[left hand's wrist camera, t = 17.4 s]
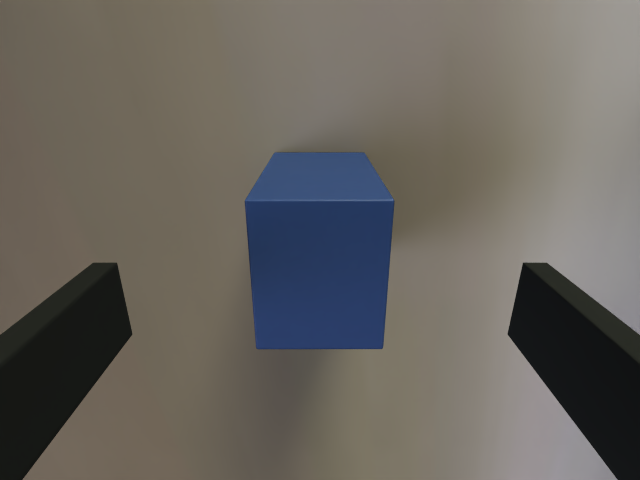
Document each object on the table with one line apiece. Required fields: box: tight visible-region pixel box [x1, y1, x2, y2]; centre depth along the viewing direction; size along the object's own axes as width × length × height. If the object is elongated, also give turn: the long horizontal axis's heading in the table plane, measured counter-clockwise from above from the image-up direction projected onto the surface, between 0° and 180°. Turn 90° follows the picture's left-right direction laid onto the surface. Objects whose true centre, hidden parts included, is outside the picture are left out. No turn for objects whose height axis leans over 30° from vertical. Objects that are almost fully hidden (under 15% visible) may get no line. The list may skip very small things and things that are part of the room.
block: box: [245, 153, 394, 349], centre depth 17 cm, size 5×6×9 cm
